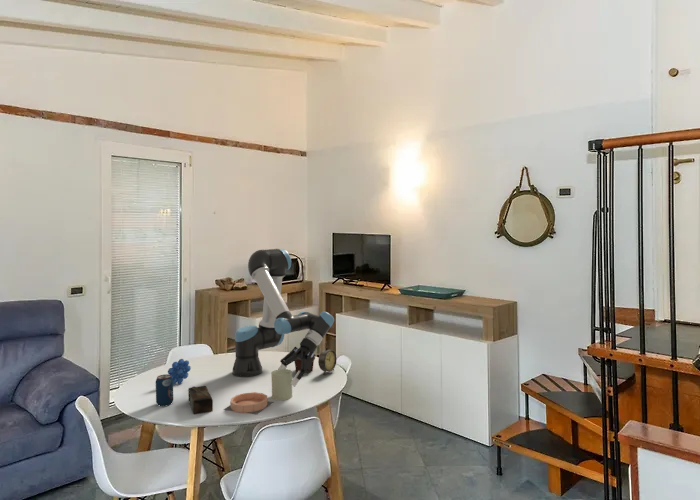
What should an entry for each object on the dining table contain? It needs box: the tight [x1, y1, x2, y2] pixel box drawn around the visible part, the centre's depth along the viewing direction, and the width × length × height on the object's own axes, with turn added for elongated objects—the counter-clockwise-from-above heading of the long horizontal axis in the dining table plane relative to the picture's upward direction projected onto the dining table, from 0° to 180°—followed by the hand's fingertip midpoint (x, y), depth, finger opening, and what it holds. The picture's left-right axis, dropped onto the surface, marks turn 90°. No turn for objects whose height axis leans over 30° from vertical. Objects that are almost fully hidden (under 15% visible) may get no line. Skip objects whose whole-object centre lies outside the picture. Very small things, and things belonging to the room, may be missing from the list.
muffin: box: [293, 355, 316, 373], centre depth 246 cm, size 12×11×10 cm
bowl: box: [229, 391, 268, 414], centre depth 197 cm, size 15×15×3 cm
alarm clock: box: [317, 341, 337, 376], centre depth 242 cm, size 11×5×16 cm, turn 148°
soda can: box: [155, 373, 174, 407], centre depth 202 cm, size 7×7×12 cm
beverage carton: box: [187, 385, 214, 415], centre depth 199 cm, size 8×19×7 cm, turn 25°
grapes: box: [167, 358, 192, 386], centre depth 229 cm, size 12×7×12 cm, turn 134°
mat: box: [223, 400, 275, 415], centre depth 197 cm, size 16×14×1 cm
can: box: [270, 368, 293, 401], centre depth 207 cm, size 9×9×12 cm
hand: (283, 381), depth 207 cm, fingers open, 13 cm apart
